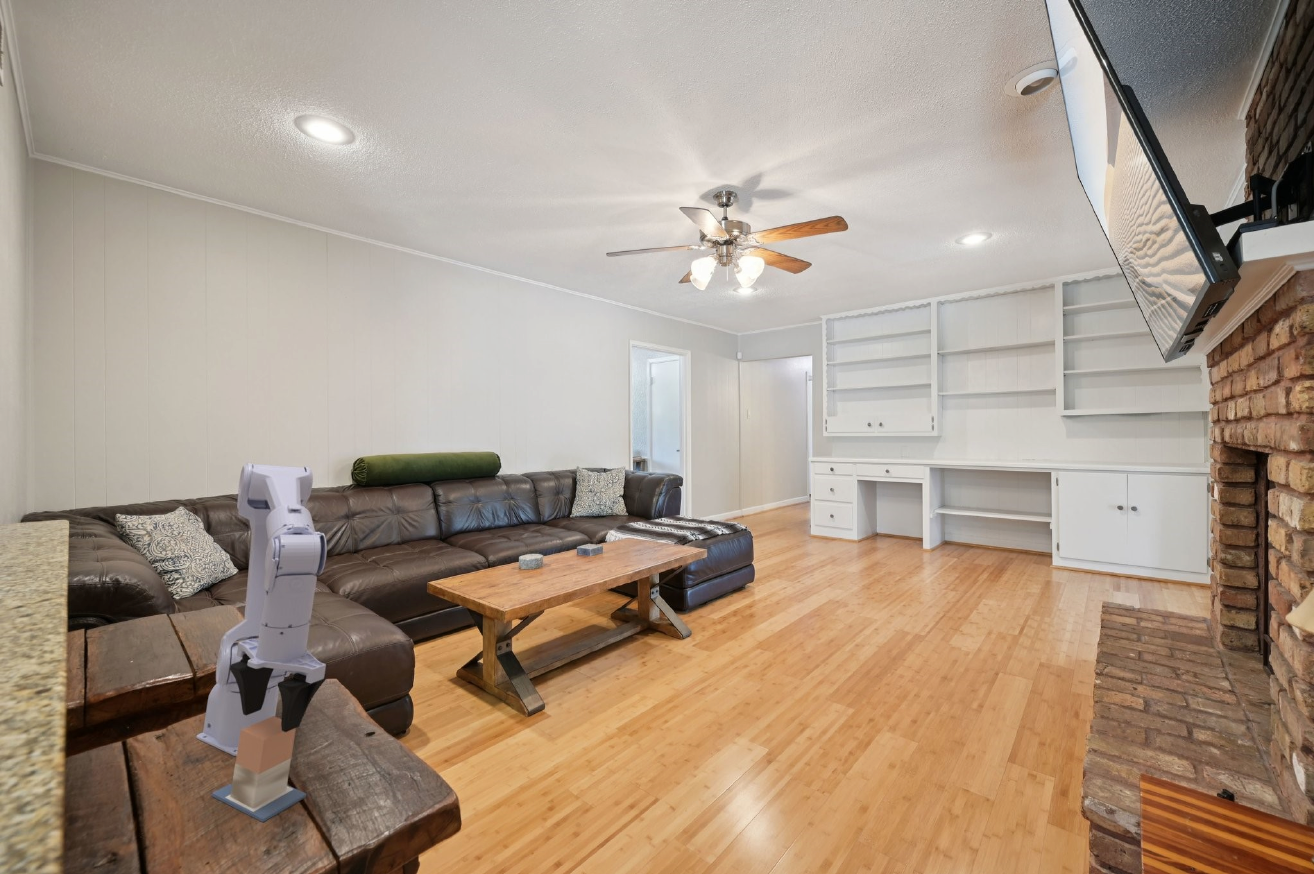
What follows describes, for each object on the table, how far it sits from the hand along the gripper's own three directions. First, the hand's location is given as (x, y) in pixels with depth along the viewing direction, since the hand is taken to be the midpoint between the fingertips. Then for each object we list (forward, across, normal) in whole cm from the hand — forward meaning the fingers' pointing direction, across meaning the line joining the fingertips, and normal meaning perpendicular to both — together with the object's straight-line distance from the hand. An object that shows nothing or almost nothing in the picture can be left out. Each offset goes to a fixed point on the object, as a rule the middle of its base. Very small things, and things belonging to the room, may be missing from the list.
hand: (271, 720), depth 76 cm
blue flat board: (+10, 0, 0) cm, 10 cm away
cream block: (+10, 0, 0) cm, 10 cm away
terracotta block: (+5, 0, 0) cm, 5 cm away
